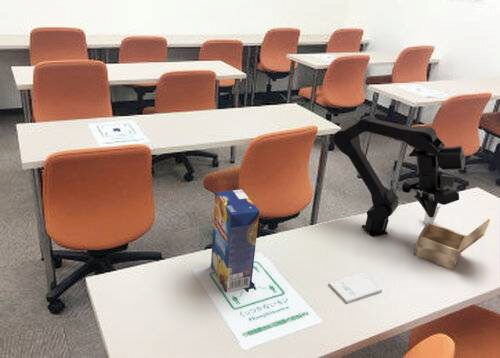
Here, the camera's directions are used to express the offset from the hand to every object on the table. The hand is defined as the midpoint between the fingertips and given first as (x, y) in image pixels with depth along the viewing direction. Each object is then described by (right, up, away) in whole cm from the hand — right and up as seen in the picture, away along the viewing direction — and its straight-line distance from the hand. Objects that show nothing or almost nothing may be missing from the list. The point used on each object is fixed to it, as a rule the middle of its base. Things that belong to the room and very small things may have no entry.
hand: (431, 216), depth 144 cm
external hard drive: (-28, -19, -15) cm, 37 cm away
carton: (+3, -12, +3) cm, 13 cm away
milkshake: (+7, -4, +21) cm, 22 cm away
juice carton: (-62, -15, -15) cm, 66 cm away
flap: (+11, -5, -6) cm, 13 cm away
